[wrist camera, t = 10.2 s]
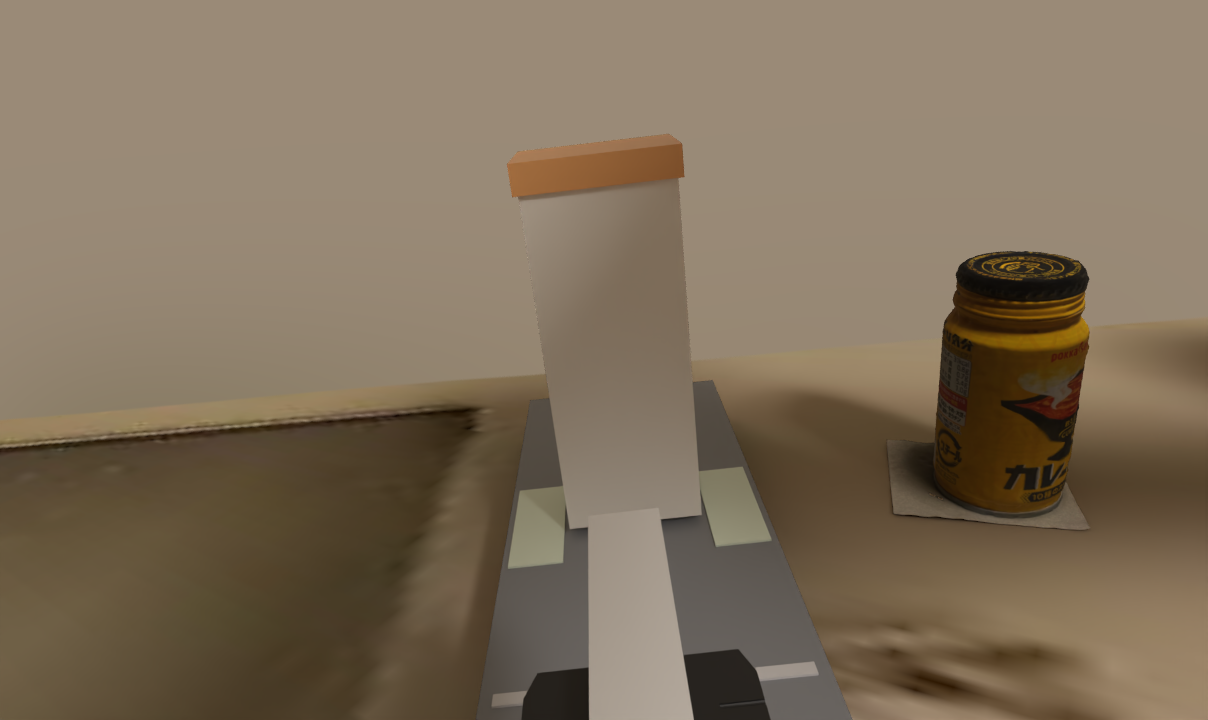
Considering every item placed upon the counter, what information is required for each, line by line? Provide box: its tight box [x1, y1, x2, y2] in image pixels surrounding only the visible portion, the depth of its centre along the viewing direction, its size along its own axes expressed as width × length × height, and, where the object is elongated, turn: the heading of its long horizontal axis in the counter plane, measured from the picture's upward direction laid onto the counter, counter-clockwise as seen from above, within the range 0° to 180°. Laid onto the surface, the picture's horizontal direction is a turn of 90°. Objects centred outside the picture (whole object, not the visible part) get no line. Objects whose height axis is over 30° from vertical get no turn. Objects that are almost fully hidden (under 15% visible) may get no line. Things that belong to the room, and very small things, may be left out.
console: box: [476, 380, 852, 720], centre depth 33 cm, size 30×12×3 cm, turn 1°
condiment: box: [887, 251, 1090, 530], centre depth 35 cm, size 7×8×12 cm
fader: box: [507, 134, 702, 529], centre depth 31 cm, size 4×6×16 cm
